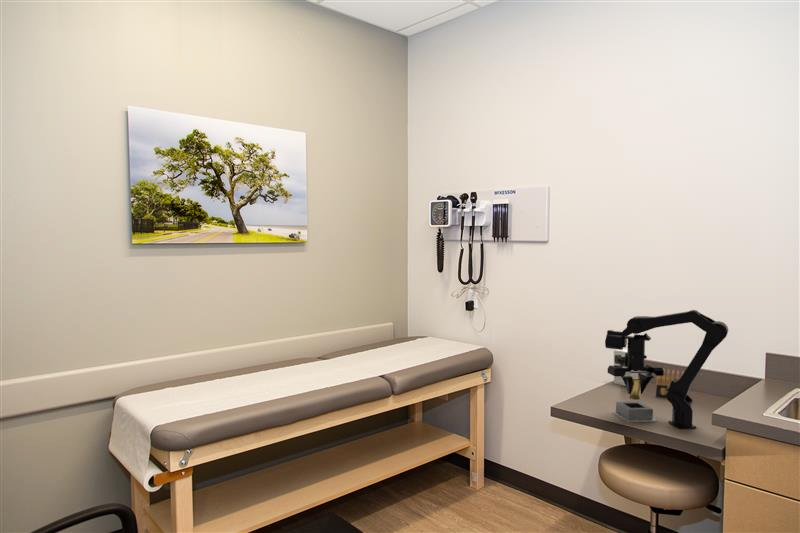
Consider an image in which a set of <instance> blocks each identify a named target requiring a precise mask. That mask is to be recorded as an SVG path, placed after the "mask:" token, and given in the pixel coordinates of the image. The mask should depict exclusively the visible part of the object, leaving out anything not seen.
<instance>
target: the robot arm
mask: <svg viewBox="0 0 800 533" xmlns="http://www.w3.org/2000/svg"><path fill="white" fill-rule="evenodd" d="M689 323H692V324H694V325H695V326H696V327H698V328H699V329H700V330H702V331H704V332H705V335H704V338H703V340H702V343H701V345H700V347H699V348H698V350H697V352H696V353H695V354H694V356H693V357H692V359H691V360H690V362H689V364H688V365H687V367H686V369H685V370H684V373H683V375H682V374H681V376H680V378H679V379H678V380H677V379H676V376H675V377H674V379H673V380H672V382H671V381H670V385H669V386H668V388H667V389H666V390H665V392H666V391H668V392H667V394H666V393H665V394H666V397H667V398H666V399H667V401H668V403H670V404H671V406H672V412H671V413H672V417H671V420H668V421H667V422H668V423H669V424H670V425H672V426H674V427H676V428H678V429H696V428H697V426H696V425H694V424H693V414H694V413H693V409H692V406H693V404H694V400H693V399H692V397H691V396H690V395H689V394H688V393H689V391H690V388H691V385H692V384H693V381H694V379H695V378H696V377H697V376H698V373H699V372H700V371H701V369H702V367H703V366H704V364H705V363H706V361H707V360H708V357H710V355H711V353H712V352H713V351H714V349H715V348H717V347H718V346H719V345H720V343H722V342H723V341H724V340H725V338H726V337H727V336H728V332H729V327H728V325H727V324H726V323H724V322H723V321H719V320H718V321H716V320H715V319H712V318H711V317H708V316H707V315H704V314H703V313H701V312H700V311H698V310H696V309H691V310H689V311H681V312H674V313H670V314H664V315H657V316H649V315H648V316H645V315H643V316H641V315H637V316H633V317H632V318H630V319H629V320H628V321H627V323H626V327H625V328H624V329H623V330H622V331H617V330H612V329H609V330H606V335H605V339H604V342H605V343H604V346H605V349H610V350H617V349H618V350H623V349H628V350H627V353H626V354H625V357H622V356H621V355H615V359H614V358H613V361H614V360H615V364H619V365H620V366H618V365H614V364H613V365H609V366H608V367H607V374H609V375H611V376H613V377H614V376H616V377H618V376H620V377H621V378H622V379H623V381H624V383H625V386H624V387H625V389H626V392H627V394H628V395H629V394H631V389H632V379H633V377H631V376H630V373H638V378H639V379H641V395H642V394H643V393H644V391H645V389H646V388H647V386H648V385H649V383H650V381H651V380H653V379H655V376H656V377H657V376H661V377H662V376H664V370H663V369H664V368H663V367H662V366H659V365H656V364H646V365H645V359H647V355H646V353H645V352H646V351H645V350H646V349H645V348H646V341H647V342H649V341H651V340H652V338H651V336H649V334H648V333H647V331H651V330H654V329H656V328H661V327H669V326H675V325H682V324H689ZM641 333H644V334H641ZM632 334H634V335H633V336H632ZM630 335H631V336H630ZM623 366H624V367H627V368H623ZM631 370H634V371H631ZM637 370H638V371H637ZM653 374H654V375H655V376H654V375H653Z"/></svg>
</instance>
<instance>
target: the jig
mask: <svg viewBox="0 0 800 533" xmlns="http://www.w3.org/2000/svg"><path fill="white" fill-rule="evenodd" d="M611 413H612V414H614V415H615V416H617V417H618V418H620V419H622V420H623V421H624V422H626V423H656V422H658V419H656V418H654V409H653V408H652V407H650V406H648V405H646V404H645V403H643V402H641V401H616V402H615V410H611Z"/></svg>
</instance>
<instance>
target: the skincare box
mask: <svg viewBox="0 0 800 533" xmlns="http://www.w3.org/2000/svg"><path fill="white" fill-rule="evenodd" d="M627 350H628V348H623V350H618V349H613V366H614V365H618V366H620V365H619V364H615V360H614V359H615V355H621V356H622V357H625V354H626V353H627ZM623 368H627V367H624V366H623ZM631 371H634V370H631ZM637 371H639V370H637ZM630 376H631V377H633V378H639V374H638V373H630ZM613 384H616V385H620V386H624V387H626V386H625V383H624V381H623V379H622V378H621V377H620V376H618V377H616V376H613Z"/></svg>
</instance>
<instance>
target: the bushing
mask: <svg viewBox="0 0 800 533" xmlns="http://www.w3.org/2000/svg"><path fill="white" fill-rule="evenodd" d="M628 398H629V399H630V400H631V399H632V400H635V401H637V400H641V399H642V394H641V379H640V378H639V377H638V378H633V379H632V389H631V394H628Z"/></svg>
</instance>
